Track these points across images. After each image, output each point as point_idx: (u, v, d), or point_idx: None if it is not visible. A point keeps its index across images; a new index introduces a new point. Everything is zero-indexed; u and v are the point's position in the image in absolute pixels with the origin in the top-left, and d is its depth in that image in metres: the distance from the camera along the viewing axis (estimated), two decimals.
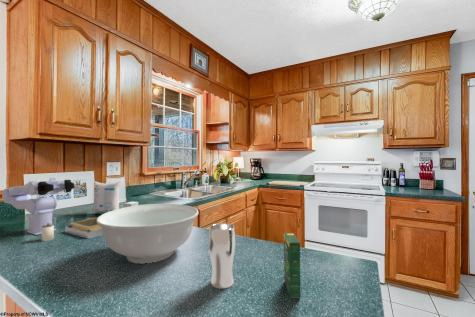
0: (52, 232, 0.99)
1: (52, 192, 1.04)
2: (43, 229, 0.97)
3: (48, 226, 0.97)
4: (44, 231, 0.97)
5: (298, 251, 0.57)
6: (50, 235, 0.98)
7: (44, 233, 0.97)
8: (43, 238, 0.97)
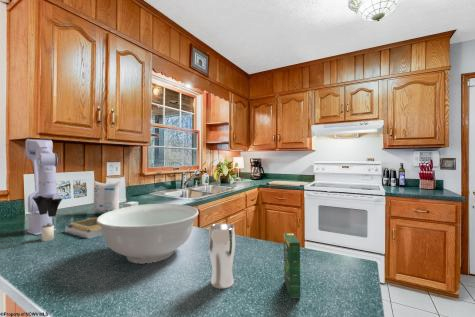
0: (52, 232, 0.99)
1: None
2: (43, 229, 0.97)
3: (48, 226, 0.97)
4: (44, 231, 0.97)
5: (298, 251, 0.57)
6: (50, 235, 0.98)
7: (44, 233, 0.97)
8: (43, 238, 0.97)
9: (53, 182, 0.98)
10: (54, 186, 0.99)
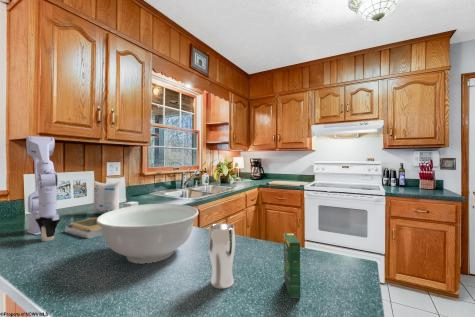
0: None
1: None
2: (43, 229, 0.97)
3: None
4: (44, 231, 0.97)
5: (298, 251, 0.57)
6: None
7: (44, 233, 0.97)
8: (43, 238, 0.97)
9: (53, 202, 0.98)
10: (54, 206, 0.99)
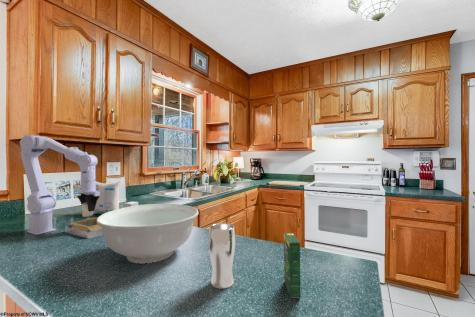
0: None
1: None
2: (83, 206, 1.07)
3: None
4: (85, 208, 1.07)
5: (298, 251, 0.57)
6: None
7: (84, 209, 1.07)
8: (84, 214, 1.07)
9: (93, 181, 1.09)
10: (94, 184, 1.09)
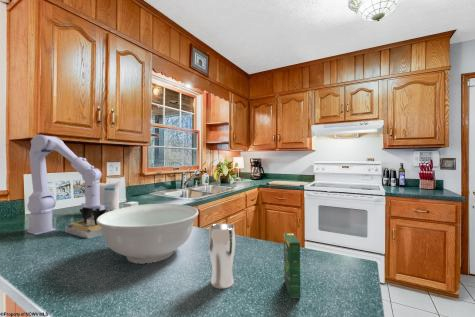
0: None
1: None
2: (88, 221, 1.08)
3: (92, 219, 1.09)
4: (90, 223, 1.08)
5: (298, 251, 0.57)
6: None
7: (89, 224, 1.08)
8: None
9: (98, 195, 1.10)
10: (98, 198, 1.11)
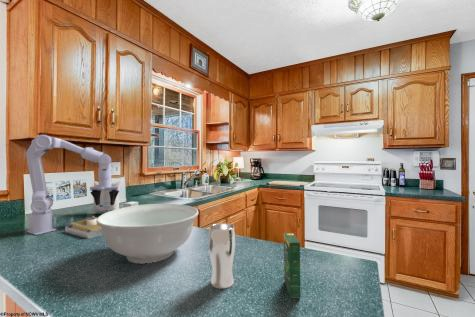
0: (96, 224, 1.10)
1: None
2: (88, 221, 1.08)
3: (92, 219, 1.09)
4: (90, 223, 1.08)
5: (298, 251, 0.57)
6: None
7: (89, 224, 1.08)
8: None
9: None
10: None
